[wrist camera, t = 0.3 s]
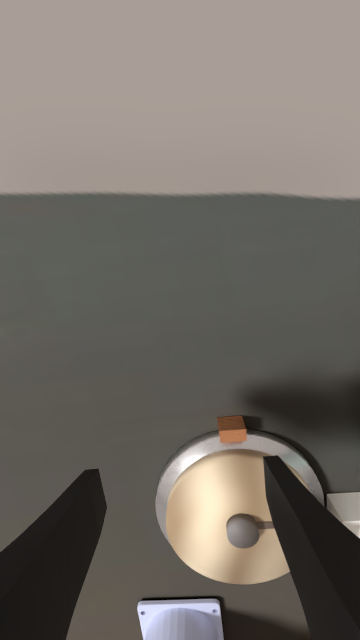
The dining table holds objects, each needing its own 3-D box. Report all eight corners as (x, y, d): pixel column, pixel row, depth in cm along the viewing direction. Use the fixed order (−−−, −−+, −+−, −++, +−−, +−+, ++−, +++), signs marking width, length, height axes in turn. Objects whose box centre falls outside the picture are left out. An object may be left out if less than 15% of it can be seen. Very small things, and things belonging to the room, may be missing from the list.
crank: (176, 570, 24) (171, 649, 19) (158, 454, 21) (148, 511, 17) (323, 565, 23) (358, 646, 18) (322, 442, 21) (363, 499, 16)
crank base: (319, 559, 24) (329, 582, 23) (167, 564, 25) (165, 587, 24) (317, 409, 21) (329, 422, 19) (144, 423, 22) (140, 437, 20)
